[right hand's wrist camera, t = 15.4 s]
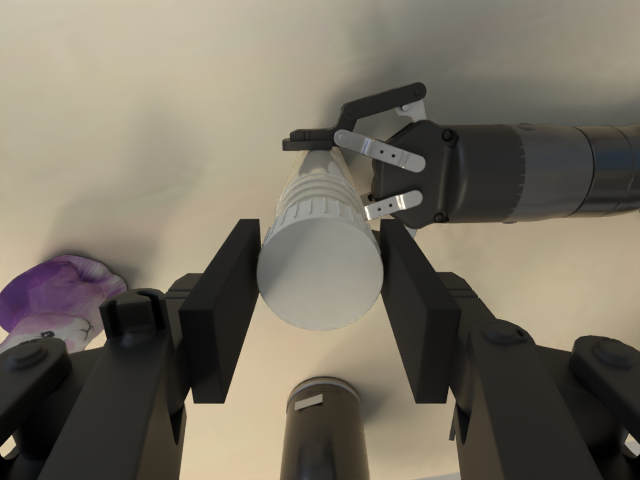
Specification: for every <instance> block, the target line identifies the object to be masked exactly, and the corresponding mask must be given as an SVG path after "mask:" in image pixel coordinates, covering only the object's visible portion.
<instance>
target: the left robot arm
mask: <svg viewBox="0 0 640 480" xmlns="http://www.w3.org/2000/svg"><path fill="white" fill-rule="evenodd" d="M425 95H426V87H425V85H424V84H423V83H420V82H417V83H411V84H407V85H404V86H401V87H397V88H394V89H391V90H388V91H384V92H381V93H378V94H374V95H371V96H368V97H365V98H361V99H358V100H355V101H352V102H348V103H345V104H344V105H343V106H342V108H341V113H340V116H339V119H338V121H337V124H336V125H335V126H334V127H332V128H330V129H297V130H295V131H293V132H291V133H290V138H288V139H283V140H282V146H283V151H306V150H332V147H343V148H346V149H349V150H352V151H355V152H358V153H361V154H363V155H366V156H368V157H371V158H372V166H373V171H374V178H373V181H372V184H371V192H369V193H366V194H363V195H361V196H360V197H361V200H362V203H363V206H364V215H365V220H367V221H368V220H373V219H376V218H378V217H381V216H384V215H387V214H390V215H391V216H392V217H394V218H395V219H400V220H401V221H402V223H403V224H404V226H405V227H406V229H407V230H408V232H409V233H410V235H411V236H412V238H413V239H414V236H415V234H416V231H417V229H421V228H423V227H425V226H427V225H429V224H433V223H489V222H501V223H506V224H512V223H516V222H530V221H540V220H546V219H553V218H583V217H609V216H616V215H622V214H627V213H631V212H634V211H638V210H639V212H640V123H637V124H632V125H627V126H578V127H564V126H555V125H547V124H525V123H521V124H505V125H453V126H440V125H437V124H435V123H433V122H432V121H430V120H427V119H426V113H425V107H424V102H423V98H424V97H425ZM390 109H393V111H394V113H395V114H396V115H398V116H408V117H409V118H410V120H411V123H410V124H408V125H407V126H405V127H404V128H403V129H401V130H400V131H399V132H397V133H396V134H395V135H393V136H392V137H391V138H389V139H388V140H387V141H382V140H379V139H376V138H373V137H370V136H367V135H363V134H360V133H357V132H354V131H353V129H354V126H355V123H356V121H357V119H360V118H363V117H366V116H370V115H373V114H376V113H380V112H383V111H386V110H390ZM373 198H374V199H373ZM378 208H380V209H378ZM372 233H373V234H374V236H375V239H376V241H377V244H378V246H379V238H380V232H379V231H375V230H372ZM280 480H370V473H369V466H368V458H367V451H366V443H365V435H364V427H363V419H362V406H361V400H360V397H359V395H358V393H357V392H356V391H355V390H354V388H352V387H351V386H350V385H349V384H347V383H345V382H343V381H341V380H338V379H333V378H315V379H311V380H308V381H306V382H304V383H302V384H300V385H299V386H297V387H296V388H295V389H294V390H293V391H292V393H291V394H290V396H289V398H288V402H287V418H286V427H285V436H284V445H283V455H282V464H281V474H280Z"/></svg>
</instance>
